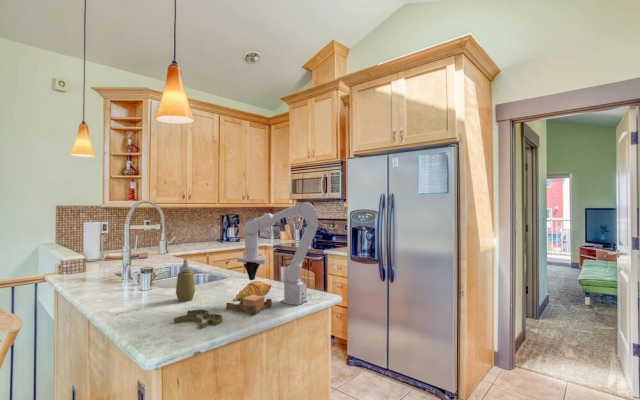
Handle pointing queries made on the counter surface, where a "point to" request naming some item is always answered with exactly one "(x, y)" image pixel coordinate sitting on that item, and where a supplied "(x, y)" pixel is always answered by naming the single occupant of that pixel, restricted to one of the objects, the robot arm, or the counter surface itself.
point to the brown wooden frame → (246, 309)
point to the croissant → (254, 289)
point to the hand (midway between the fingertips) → (251, 279)
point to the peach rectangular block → (253, 301)
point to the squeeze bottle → (185, 283)
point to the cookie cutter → (193, 317)
